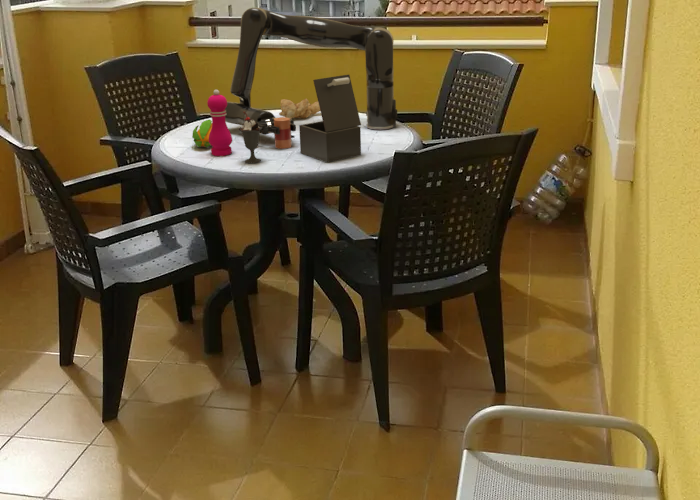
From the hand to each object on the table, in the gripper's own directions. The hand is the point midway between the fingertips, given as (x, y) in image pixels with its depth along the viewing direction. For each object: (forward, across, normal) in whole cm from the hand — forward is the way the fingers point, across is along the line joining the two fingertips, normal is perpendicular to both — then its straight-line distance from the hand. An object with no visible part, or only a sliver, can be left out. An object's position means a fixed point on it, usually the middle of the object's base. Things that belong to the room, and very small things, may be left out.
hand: (286, 129), depth 256 cm
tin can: (-3, 0, -6) cm, 7 cm away
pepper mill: (-8, +19, -6) cm, 22 cm away
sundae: (+6, +16, -6) cm, 18 cm away
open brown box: (+15, -6, -6) cm, 17 cm away
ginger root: (-36, -27, -6) cm, 46 cm away
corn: (-23, +17, -6) cm, 29 cm away
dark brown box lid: (+19, -6, +10) cm, 23 cm away
